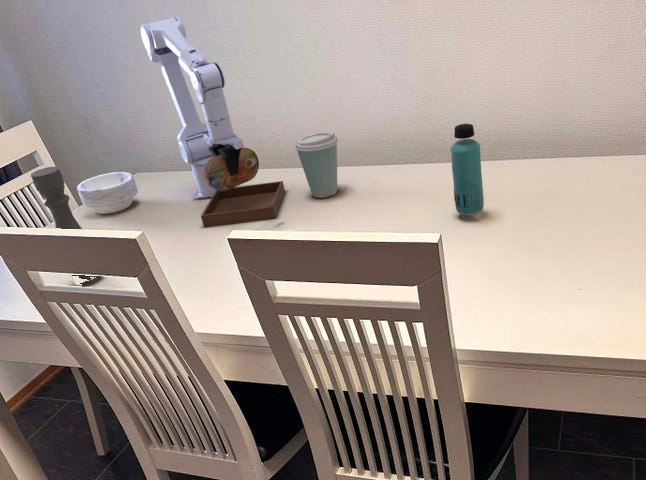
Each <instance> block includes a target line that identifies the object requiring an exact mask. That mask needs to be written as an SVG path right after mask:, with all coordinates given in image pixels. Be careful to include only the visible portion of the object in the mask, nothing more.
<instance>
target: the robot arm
mask: <svg viewBox="0 0 646 480" xmlns="http://www.w3.org/2000/svg"><path fill="white" fill-rule="evenodd" d="M140 35H141V40H142V43H143V45H144V48H145V50H146V53H147V55H148V58H149V60H150V61H151V62H153V63H157V65H158V67H159V68H160V70H161V72H162V73H161V74H162V75H163V77H164V78H163V79H164V80H165V83H166V85H167V89H168V91H169V94H170V96H171V99H172V101H173V105H174V107H175V109H176V112H177V114H178V117H179V119H180V123H181V124H182V128H181V130H180V131H179V132H178V135H177V138H176V140H177V145H178V148H179V153H180V155H181V157H182V159H183V161H184V162H185V163H186V164H187V165H190V167H191V171H192V173H193V177H194V181H195V184H196V187H197V191H198V192H197V194H196V195H195V196H194V198H195V199H196V200H197V199H198V200H199V199H204V198H205V199H206V198H212V196H213V194H214V193H215V191H216V189H213V188H211V187H210V186H209V185H208V184H207V183H206V180H205V177H204V168H205V165H206V163H207V162H208V161H209V159H211V158H212V157H215V156H217V155H220V154H221V155H222V156H223V158H224V160H225V162H226V165H227V167H228V170H229V173H230V174H231V176H233V175H236V174H238V173H239V156H240V152H241V148H242V147H243V148H245V146H244V141H243V139H242V138H240V137H238V135H237V134H236V133H234V130H233V129H234V128H233V126H232V121H231V116H230V113H229V108H228V105H227V101H226V97H225V92H224V89H223V88H224V87H225V86H226V85H225V84H226V81H225V76H224V72H223V70H222V68H221V66H220V65H219V64H218V62H217V61H209V60H208V59H207V58H206V56H205V55H204V54H203V53H202V52H201V51H200V50H199V49H198V48H197V47H195V46H191V45H190V44H189V41H187V33H186V29H185V25H184V23H183V21H182V20H181V19H180V18H179V17H178V16H173V17H170V18H167V19H162V20H159V21H153V22H148V23H142V24H141V26H140ZM182 69H183V71H184V72H185V73H186V74H187V76H189V78H190V81H191V85H192V87H193V89H194V91H195V94H196V98H197V100H198V101H199V102H200V105H201V109H202V112H203V116H204V119H205V123H204V122H202V121H201V119H200V116H199V113H198V111H197V109H196V106H195V103H194V100H193V98H192V95H191V93H190V90H189V87H188V84H187V82H186V79H185V76H184V73H183V71H182Z"/></svg>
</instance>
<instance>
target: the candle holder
mask: <svg viewBox="0 0 646 480" xmlns="http://www.w3.org/2000/svg"><path fill="white" fill-rule="evenodd" d="M30 177H31V180H32V183H33V185H34V187H35V190H36V191H37V192H38V193H39V195H41V196H42V197H43V198H44V201H43V205H44V206H45V207H46V208H48V209H49V212H50V214H51V215H52V216H51V217H52V218H53V221H54V225H55V229H56V228H61V229H82V230H83V228H82V227H81V225H80V224H79V221H77V220H76V218H75V217H74V215H73V212H72V209H71V207H70V204H69V201H70V196H69V195H68V194H65V187H66V186H65V179H64V177H63V174H62V172H61V169H60V167H59V166H47V167H43V168H39V169H37V170H35V171H33V172H31V174H30ZM72 276H79V278H81V279H87V280H89V281H85V282H83V283H80V284H82V286H81V287H86V286H91V285H93V284H96V283H97V282H100V281H101V280H102V278H103V276H102V277H101V276H85V275H72ZM72 276H71V277H72ZM90 277H94V279H92V278H90ZM95 277H96V278H95ZM91 279H92V280H91Z"/></svg>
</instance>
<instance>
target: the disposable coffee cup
mask: <svg viewBox="0 0 646 480" xmlns="http://www.w3.org/2000/svg"><path fill="white" fill-rule="evenodd" d="M338 142H339V140H338V137H337V136H336V135H335V132H334V131H330V130H329V131H328V130H327V131H320V132H315V133H311V134H308V135H304V136H303V137H300V138H299V139H298V140H297V141H296V143H295V149H296V151H297V154H298V157H299V161H300V164H301V166H302V169H303V172H304V175H305V178H306V181H307V184H308V187H309V190H310V193H311V194H312V196H313V197H314V198H319V199H321V198H328V197H332V196H334V195H336V194H337V192H338Z"/></svg>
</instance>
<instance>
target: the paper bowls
mask: <svg viewBox="0 0 646 480" xmlns="http://www.w3.org/2000/svg"><path fill="white" fill-rule="evenodd" d="M76 189H77V190H76V191H77V192H78V195H79V198H80V201H81V203H82V205H83V206H84V207H86V208H91V209H92V210H93V211H94V212H95V213H97V214H100V215H101V214H102V215H106V214H107V215H108V214H114V213H118V212H121V211H124V210H125V209H127V208H129V207H130V206H131V205H133V204H132V203H133V199H134V197H136V196H137V194H138V192H139V191H138V187H137V184H136V181H135V177H134V175H133V173H130V172H128V171H127V172H126V171H115V172H109V173H103V174H99V175H96V176H92V177H90V178H88V179H85V180H83V181H82V182H80V183H79V184H78V185H77V187H76Z"/></svg>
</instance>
